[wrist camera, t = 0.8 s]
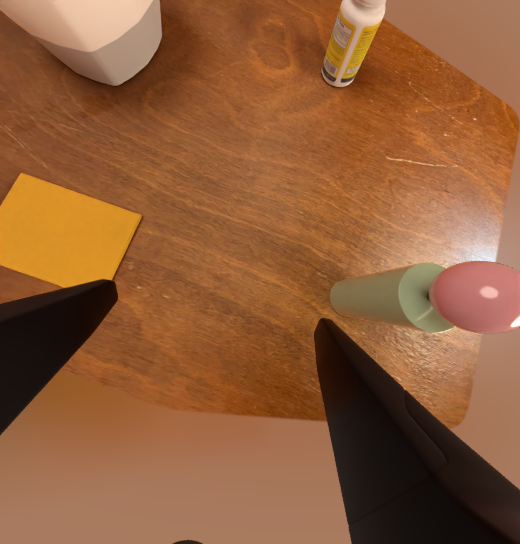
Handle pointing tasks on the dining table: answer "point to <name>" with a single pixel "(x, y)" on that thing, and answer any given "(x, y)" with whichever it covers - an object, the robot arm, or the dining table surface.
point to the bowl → (93, 33)
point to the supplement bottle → (351, 39)
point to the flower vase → (434, 297)
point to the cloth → (62, 233)
